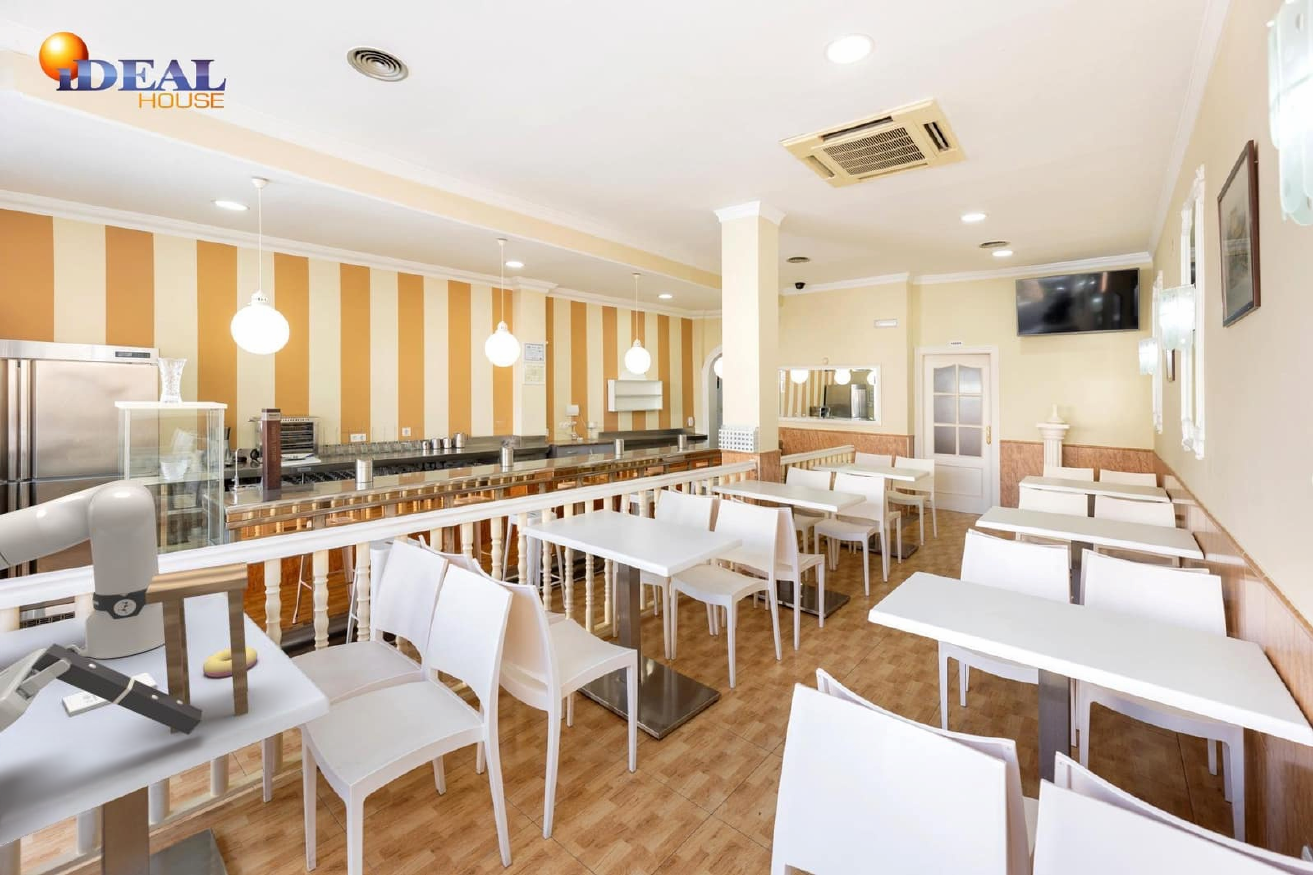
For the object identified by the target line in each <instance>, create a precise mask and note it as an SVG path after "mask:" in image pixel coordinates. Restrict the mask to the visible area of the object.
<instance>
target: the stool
mask: <svg viewBox="0 0 1313 875" xmlns="http://www.w3.org/2000/svg"><path fill="white" fill-rule="evenodd" d="M248 572H249V571H248V562H247V561H241V562H237V563H236V562H234V563H229V564H228V563H227V564H220V565H214V566H205V567H200V568H199V567H198V568H193V569H186V570H185V569H183V570H178V571H171V572H163V573H159V574H156V575H154V577H153V579H152V581H151V583H150V585H149V587H148V589H147V591H146V593H145V596H146V605H148V604H154V603H160V602H162V608H163V623H164V637H165V644H164V650H165V664H166V666H165V667H166V678H167V679H166V680H167V694H168V695H170V696H172V697H174V698H176V699H179V700H181V701H183V702H185V703H187V704H190V705H191V688H190V687H191V686H190V674H189V670H190V669H189V657H188V656H189V655H188V642H187V640H188V638H187V627H186V625H187V624H186V613H185V612H186V611H185V599H190V598H195V597H196V598H197V597H201V596H207V595H214V594H219V593H225V592H227V606H228V607H227V608H228V623H229V624H228V625H229V640H230V648H231V660H232V675H231V676H232V692H233V693H232V695H233V709H234V712H233V713H234V717H237V716H241V715H245V714H248V713H249V703H248V702H249V701H248V692H249V688H248V687H249V686H248V683H249V682H248V669H247V664H246V647H247V646H246V634H245V633H246V632H245V630H246V628H245V613H244V598H243V597H244V595H243V594H244V592H243V590H244V589H248V588H249V584H248V581H249V580H248V577H249V576H248ZM178 732H179V731H178V730H176V729H173V728H171V727H170V734H174V733H178Z"/></svg>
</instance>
